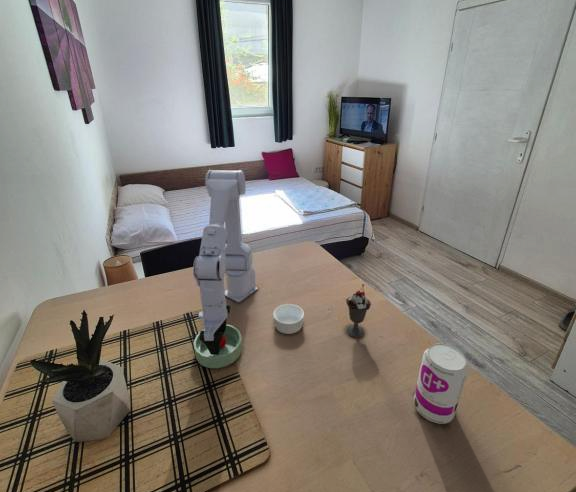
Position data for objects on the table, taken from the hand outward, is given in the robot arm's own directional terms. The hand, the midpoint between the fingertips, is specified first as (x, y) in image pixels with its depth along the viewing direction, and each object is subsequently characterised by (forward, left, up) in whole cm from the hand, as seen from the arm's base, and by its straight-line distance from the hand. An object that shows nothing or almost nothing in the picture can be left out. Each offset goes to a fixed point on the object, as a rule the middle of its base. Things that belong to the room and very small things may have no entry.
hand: (218, 342), depth 84 cm
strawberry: (0, 0, -2) cm, 2 cm away
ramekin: (-19, +9, -3) cm, 21 cm away
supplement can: (-16, +50, -3) cm, 53 cm away
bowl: (0, 0, -3) cm, 3 cm away
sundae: (-28, +26, -3) cm, 38 cm away
